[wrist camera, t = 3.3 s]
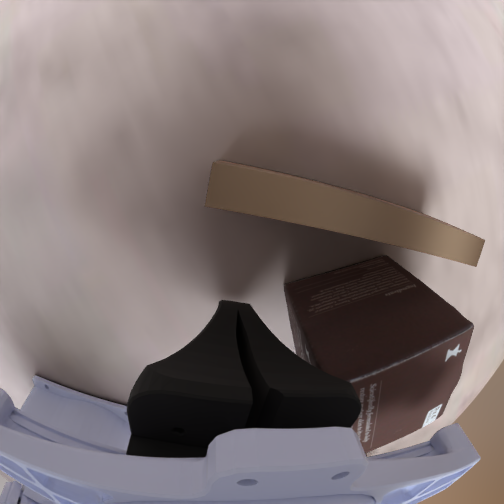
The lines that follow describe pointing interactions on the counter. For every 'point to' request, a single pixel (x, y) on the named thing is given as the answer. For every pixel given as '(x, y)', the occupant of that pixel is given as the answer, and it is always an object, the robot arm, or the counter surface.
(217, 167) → the walnut screen
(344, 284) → the box
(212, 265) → the counter surface
